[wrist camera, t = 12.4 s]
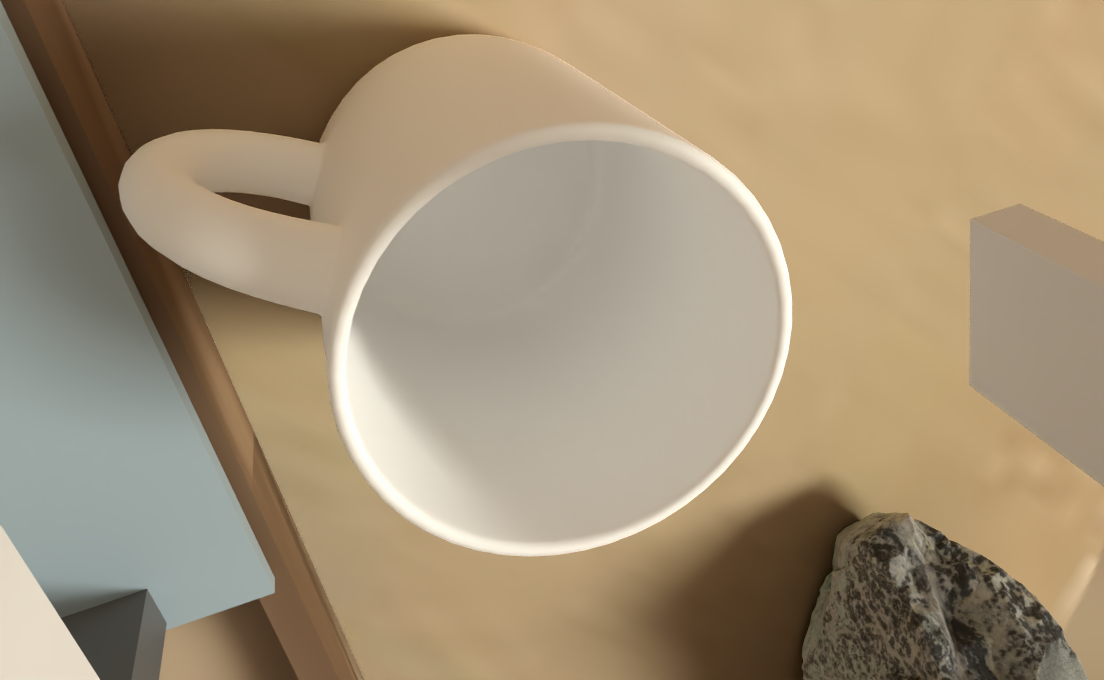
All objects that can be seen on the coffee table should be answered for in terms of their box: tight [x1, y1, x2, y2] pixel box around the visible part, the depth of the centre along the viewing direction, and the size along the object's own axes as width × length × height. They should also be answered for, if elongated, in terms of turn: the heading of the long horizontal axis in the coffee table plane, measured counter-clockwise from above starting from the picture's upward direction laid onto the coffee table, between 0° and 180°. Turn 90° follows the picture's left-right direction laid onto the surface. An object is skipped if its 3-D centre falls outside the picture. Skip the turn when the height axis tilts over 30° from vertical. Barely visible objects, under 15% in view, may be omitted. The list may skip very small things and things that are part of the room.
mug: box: [118, 34, 792, 556], centre depth 20 cm, size 12×8×10 cm
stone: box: [801, 513, 1088, 680], centre depth 34 cm, size 10×10×10 cm
